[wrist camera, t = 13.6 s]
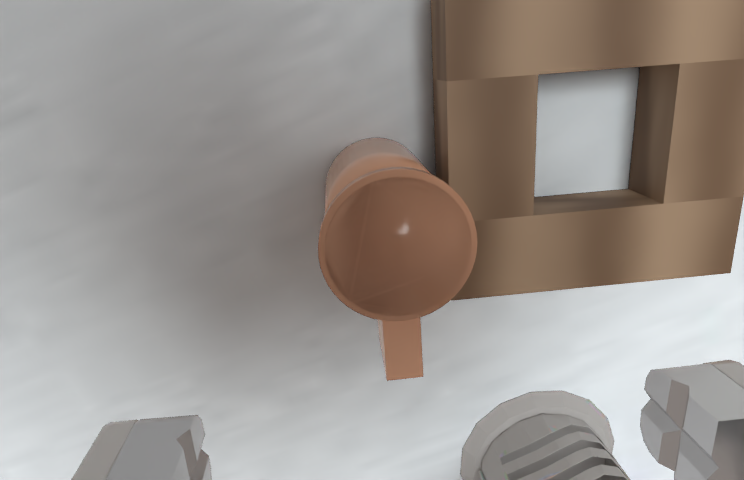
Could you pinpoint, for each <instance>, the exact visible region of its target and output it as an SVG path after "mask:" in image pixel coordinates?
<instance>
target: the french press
mask: <svg viewBox="0 0 744 480" xmlns="http://www.w3.org/2000/svg"><path fill="white" fill-rule="evenodd" d="M613 445H614V438H613V435H612V431H611V428H610V425H609V421H608V418H607V417H606V416H605V415H604V414H603V413H602V412H601V411H600V410H599V409H598V408H597V407H596V406H595V405H594V404H593V403H592V402H591V401H590V400H588V399H585V398H582V397H579V396H576V395H573V394H570V393H567V392H564V391H544V392H530V393H527V394H525V395H522V396H519V397H517V398H514V399H512V400H509V401H506V402H504V403H501V404H500V405H498V406H497V407H496V408H495V409H494V410H492V411H491V412H490V413H489V414H488V415H486V416H485V417H484V418H483V419H482V420H480V421H479V422H478V423H477V424H476V425H475V427H474V429H473V431H472V432H471V434H470V436H469V438H468V440H467V441H466V443H465V445H464V447H463V448H462V460H461V473H460V474H461V476H462V479H463V480H630V479H629V477H628V476H627V475H626V473H625V472H624V470H623V469H622V468H621V466H620V465H619V464H618V462H617V461H616V459H615V458H614V457H613V455H612V451H613Z"/></svg>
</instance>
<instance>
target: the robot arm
mask: <svg viewBox="0 0 744 480" xmlns="http://www.w3.org/2000/svg"><path fill="white" fill-rule="evenodd" d="M644 390H645V391H646V393H647V394H648V395H649V397H650V398H651V399H650V400H649V401H648V403H647V404H646V405H645V406H644V407H643V409H642V410H641V419H640V428H641V432H642V436H643V441H644V443H645V445H646V446H647V448H648V450H649V452H650V453H651V455H652V456H653V457H654V458H655V459H656V461H657V462H658V463H660V464H662V465H664V466H666V467H668V468H669V469H671V470H673V471H674V480H744V366H743V365H742V364H741V363H739V362H735V361H732V360H725V361H717V362H709V363H703V364H700V365H691V366H682V367H673V368H664V369H655V370H650V372H649V374H648V375H647V377H646V382H645V388H644ZM204 437H205V432H204V428H203V423H202V419H201V418H200V417H199V416H198V415H189V416H177V417H164V418H151V419H140V420H128V421H118V422H110V423H108V424H106V425H105V426H104V427H103V428H102V429H101V431H100V433H99V434H98V436H97V438H96V439H95V441H94V443H93V444H92V446H91V448H90V449H89V451H88V453H87V454H86V456H85V458H84V459H83V461H82V463H81V464H80V466H79V468H78V469H77V471H76V473H75V474H74V476H73V478H72V479H71V480H212V475H211V465H210V459H209V455H207V454H206V453H205V452H204V451H203V450H202V449H201V447H202V443H203V440H204Z"/></svg>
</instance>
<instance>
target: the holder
mask: <svg viewBox="0 0 744 480" xmlns="http://www.w3.org/2000/svg"><path fill="white" fill-rule="evenodd" d="M431 29H432V63H433V98H434V132H435V166H436V177H438V178H440V179H442V180H443V181H444V182H446V183H447V184H448V185H449V186H450V187H451V188H452V189H453V190H454V191H455V192H456V193H457V194H458V195H459V196H460V197H461V198H462V199H463V201H464V202H465V203H466V205H467V207H468V209H469V210H470V212H471V214H472V217H473V220H474V222H475V227H476V231H477V253H476V258H475V262H474V265H473V268H472V271H471V273H470V275H469V277H468V279H467V281H466V282H465V284H464V285H463V287H462V288H461V289H460V291H459V292H458V293H457V294H456V295H455V296H454V297H453V298H452V299H451V300H461V299H471V298H481V297H491V296H502V295H512V294H522V293H532V292H542V291H552V290H562V289H572V288H583V287H593V286H603V285H613V284H623V283H633V282H643V281H654V280H664V279H674V278H684V277H694V276H704V275H714V274H724V273H730V272H731V266H732V261H733V255H734V249H735V243H736V237H737V231H738V225H739V220H740V214H741V208H742V202H743V196H744V0H431ZM629 67H640V72H639V83H638V93H637V104H636V114H635V125H634V135H633V146H632V156H631V167H630V177H629V188H628V189H621V190H610V191H599V192H588V193H576V194H565V195H554V196H543V197H534V181H535V152H536V123H537V93H538V74H551V73H564V72H577V71H590V70H603V69H616V68H629Z"/></svg>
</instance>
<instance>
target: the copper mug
mask: <svg viewBox="0 0 744 480" xmlns="http://www.w3.org/2000/svg"><path fill="white" fill-rule="evenodd" d="M476 253H477V231H476V227H475V222H474V220H473V217H472V214H471V212H470V210H469V209H468V207H467V205H466V203H465V202H464V201H463V199H462V198H461V197H460V196H459V195H458V194H457V193H456V192H455V191H454V190H453V189H452V188H451V187H450V186H449V185H448V184H447V183H446V182H444V181H443V180H442V179H440V178H438V177H436V176H435V175H433V174H431V173H430V172H429V171H428V170H427V169H426V168H425V166H424V165H423V164H422V163H421V162H420V161H419V160H418V159H417V158H416V157H415V155H414V154H413V153H412V152H411V151H410V150H409V149H407V148H406V147H405V146H403V145H401V144H400V143H398V142H395V141H393V140H389V139H385V138H368V139H363V140H360V141H357V142H355V143H353V144H351V145H349V146H348V147H346V148H345V149H344V150H343V151H341V152H340V153H339V155H338V156H337V157H336V158H335V160H334V161H333V163H332V164H331V166H330V168H329V171H328V174H327V178H326V186H325V215H324V217H323V220H322V223H321V227H320V231H319V241H318V256H319V262H320V267H321V270H322V273H323V276H324V278H325V280H326V282H327V284H328V286H329V287H330V289H331V290H332V292H333V293H334V294H335V295H336V296H337V298H338V299H339V300H340V301H341V302H343V303H344V304H345V305H346V306H348V307H349V308H351V309H352V310H354V311H355V312H357V313H360V314H362V315H364V316H367V317H370V318H373V319H377V320H378V330H379V340H380V345H381V351H382V356H383V362H384V367H385V373H386V378H387V381H388V380H397V379H406V378H415V377H423V363H422V343H421V324H420V317H422V316H425V315H427V314H430V313H432V312H434V311H435V310H437V309H439V308H441V307H442V306H443V305H445V304H446V303H448V302H449V301H450V300H451V299H452V298H453V297H454V296H455V295H456V294H457V293H458V292H459V291H460V289H461V288H462V287H463V285H464V284H465V282H466V281H467V279H468V277H469V275H470V273H471V271H472V268H473V265H474V262H475V258H476Z"/></svg>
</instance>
